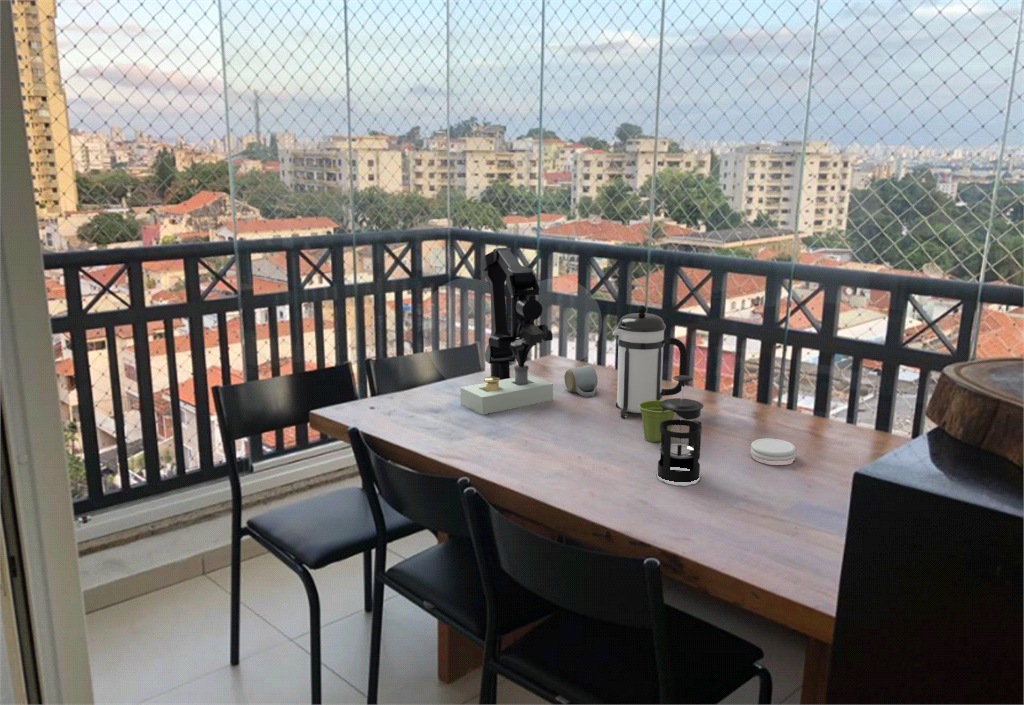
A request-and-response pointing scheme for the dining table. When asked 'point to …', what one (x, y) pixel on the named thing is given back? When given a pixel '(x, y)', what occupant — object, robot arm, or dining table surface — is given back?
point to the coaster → (773, 449)
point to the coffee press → (643, 360)
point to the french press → (680, 452)
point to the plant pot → (654, 419)
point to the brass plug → (492, 383)
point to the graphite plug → (521, 375)
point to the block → (506, 395)
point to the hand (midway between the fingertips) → (521, 366)
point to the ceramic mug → (581, 380)
